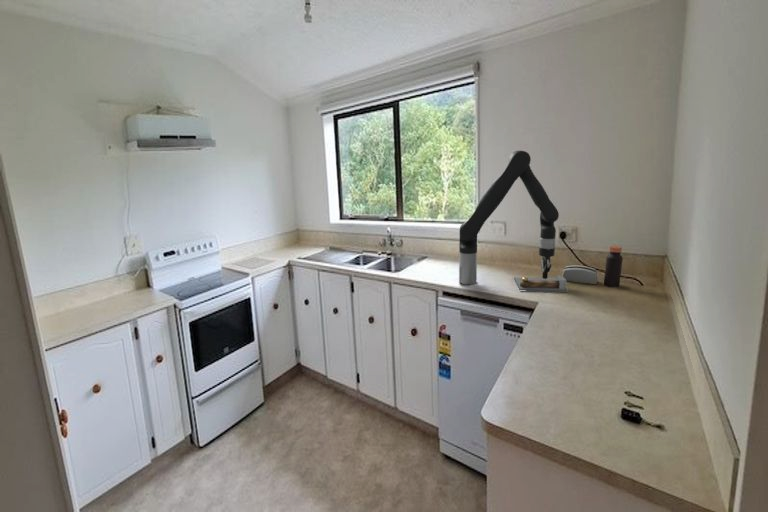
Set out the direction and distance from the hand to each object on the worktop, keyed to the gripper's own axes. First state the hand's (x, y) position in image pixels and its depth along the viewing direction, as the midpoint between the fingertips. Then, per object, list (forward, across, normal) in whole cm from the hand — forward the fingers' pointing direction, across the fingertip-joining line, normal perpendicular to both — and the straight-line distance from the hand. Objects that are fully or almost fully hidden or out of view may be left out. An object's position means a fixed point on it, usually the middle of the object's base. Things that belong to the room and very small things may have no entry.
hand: (544, 278), depth 193 cm
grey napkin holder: (+3, -4, +18) cm, 19 cm away
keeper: (+2, +9, +6) cm, 11 cm away
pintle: (-2, +9, -11) cm, 14 cm away
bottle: (+3, +2, +32) cm, 32 cm away
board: (+3, +4, -3) cm, 6 cm away
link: (+1, +9, -3) cm, 9 cm away
